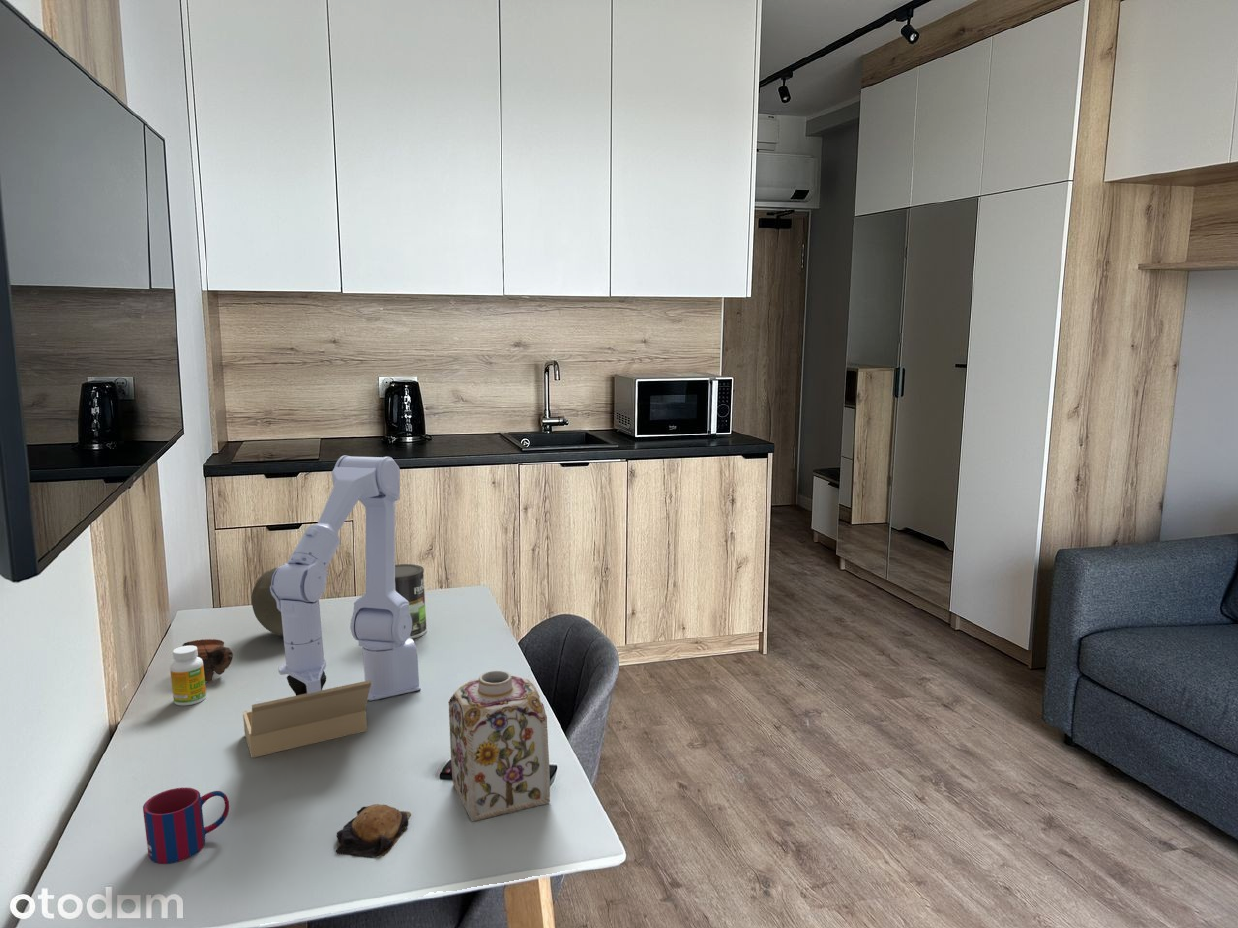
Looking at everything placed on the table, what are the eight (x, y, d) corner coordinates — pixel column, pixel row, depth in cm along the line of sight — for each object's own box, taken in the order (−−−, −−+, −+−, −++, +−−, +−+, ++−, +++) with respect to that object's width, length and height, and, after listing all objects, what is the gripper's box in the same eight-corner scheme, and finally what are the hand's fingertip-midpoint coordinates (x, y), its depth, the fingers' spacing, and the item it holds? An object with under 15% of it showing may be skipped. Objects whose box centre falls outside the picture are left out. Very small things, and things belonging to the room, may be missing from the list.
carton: (354, 710, 157) (353, 688, 156) (367, 730, 149) (365, 708, 149) (244, 734, 149) (242, 712, 148) (251, 757, 141) (249, 734, 140)
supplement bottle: (193, 707, 159) (188, 655, 158) (167, 705, 160) (161, 653, 159) (212, 694, 165) (207, 644, 163) (187, 692, 166) (181, 642, 164)
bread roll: (360, 813, 126) (358, 789, 125) (417, 816, 125) (415, 792, 124) (325, 858, 115) (323, 832, 115) (388, 862, 114) (386, 835, 114)
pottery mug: (165, 687, 170) (166, 643, 172) (202, 690, 178) (203, 648, 181) (217, 676, 167) (218, 632, 169) (252, 680, 175) (252, 638, 178)
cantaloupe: (334, 625, 200) (329, 560, 198) (298, 648, 187) (292, 579, 184) (278, 621, 203) (273, 557, 201) (239, 644, 190) (232, 576, 187)
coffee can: (431, 624, 200) (428, 563, 198) (421, 640, 190) (417, 577, 187) (386, 624, 200) (382, 563, 198) (372, 641, 190) (368, 577, 188)
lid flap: (370, 679, 142) (371, 683, 142) (364, 707, 149) (365, 711, 148) (252, 704, 134) (252, 708, 133) (250, 733, 140) (251, 736, 140)
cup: (148, 842, 119) (142, 795, 117) (230, 821, 123) (225, 776, 122) (148, 869, 113) (142, 820, 112) (234, 847, 117) (229, 799, 116)
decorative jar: (451, 783, 132) (445, 668, 129) (526, 766, 137) (522, 655, 134) (471, 824, 121) (464, 700, 118) (552, 805, 126) (548, 684, 123)
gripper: (269, 627, 145) (277, 704, 148) (283, 659, 133) (291, 743, 135) (314, 619, 148) (321, 694, 151) (332, 649, 136) (338, 731, 139)
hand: (310, 717), depth 143 cm, fingers closed, pressing on lid flap
